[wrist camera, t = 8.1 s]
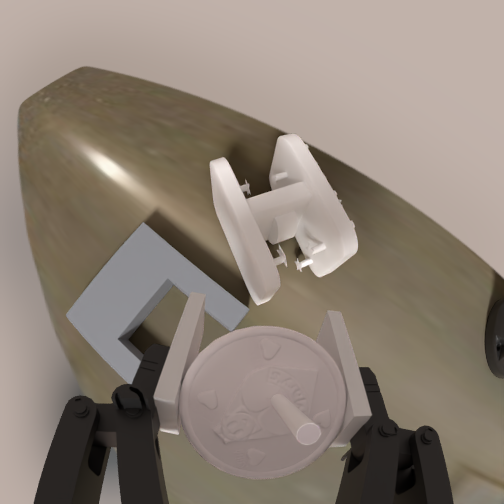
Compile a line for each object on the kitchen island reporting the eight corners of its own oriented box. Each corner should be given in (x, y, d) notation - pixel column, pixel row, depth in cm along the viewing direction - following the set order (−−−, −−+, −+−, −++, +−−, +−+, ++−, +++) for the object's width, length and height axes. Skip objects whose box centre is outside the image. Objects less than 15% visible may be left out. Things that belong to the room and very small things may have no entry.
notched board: (247, 312, 33) (249, 309, 30) (169, 407, 29) (162, 413, 26) (150, 233, 36) (143, 222, 32) (79, 318, 31) (65, 315, 28)
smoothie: (312, 387, 18) (443, 438, 5) (238, 437, 17) (252, 571, 4) (260, 316, 20) (318, 253, 7) (184, 366, 18) (89, 402, 5)
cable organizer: (210, 202, 38) (203, 147, 27) (281, 179, 40) (298, 123, 29) (254, 308, 34) (265, 290, 23) (330, 275, 36) (370, 245, 25)
